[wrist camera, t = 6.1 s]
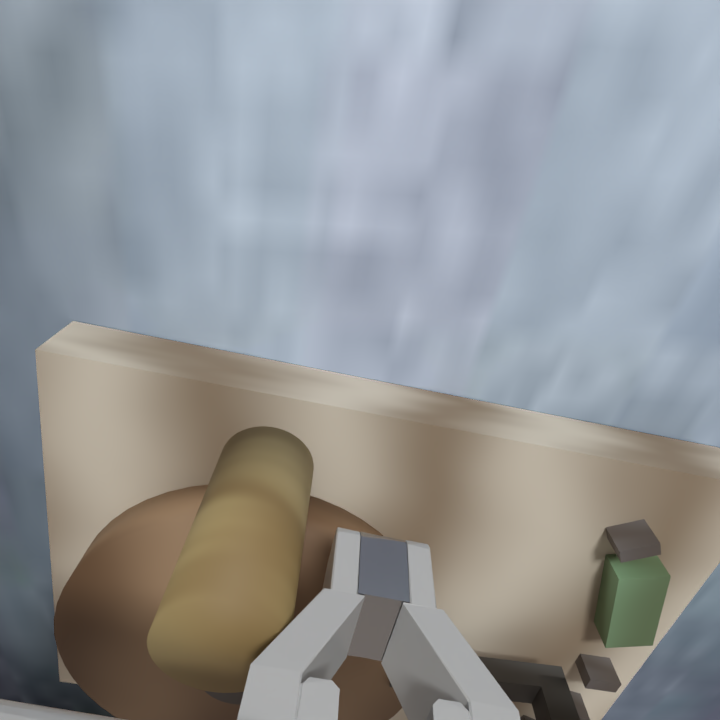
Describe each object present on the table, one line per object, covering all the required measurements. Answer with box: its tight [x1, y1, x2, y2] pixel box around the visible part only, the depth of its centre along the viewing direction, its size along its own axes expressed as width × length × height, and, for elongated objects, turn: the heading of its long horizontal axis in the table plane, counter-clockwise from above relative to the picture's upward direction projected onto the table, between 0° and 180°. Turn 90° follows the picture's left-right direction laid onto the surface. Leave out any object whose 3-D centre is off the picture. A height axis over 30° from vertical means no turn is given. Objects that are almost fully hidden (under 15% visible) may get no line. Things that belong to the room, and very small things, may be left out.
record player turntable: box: [35, 321, 720, 720], centre depth 19 cm, size 22×15×3 cm
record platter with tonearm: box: [54, 426, 580, 720], centre depth 15 cm, size 17×15×6 cm
